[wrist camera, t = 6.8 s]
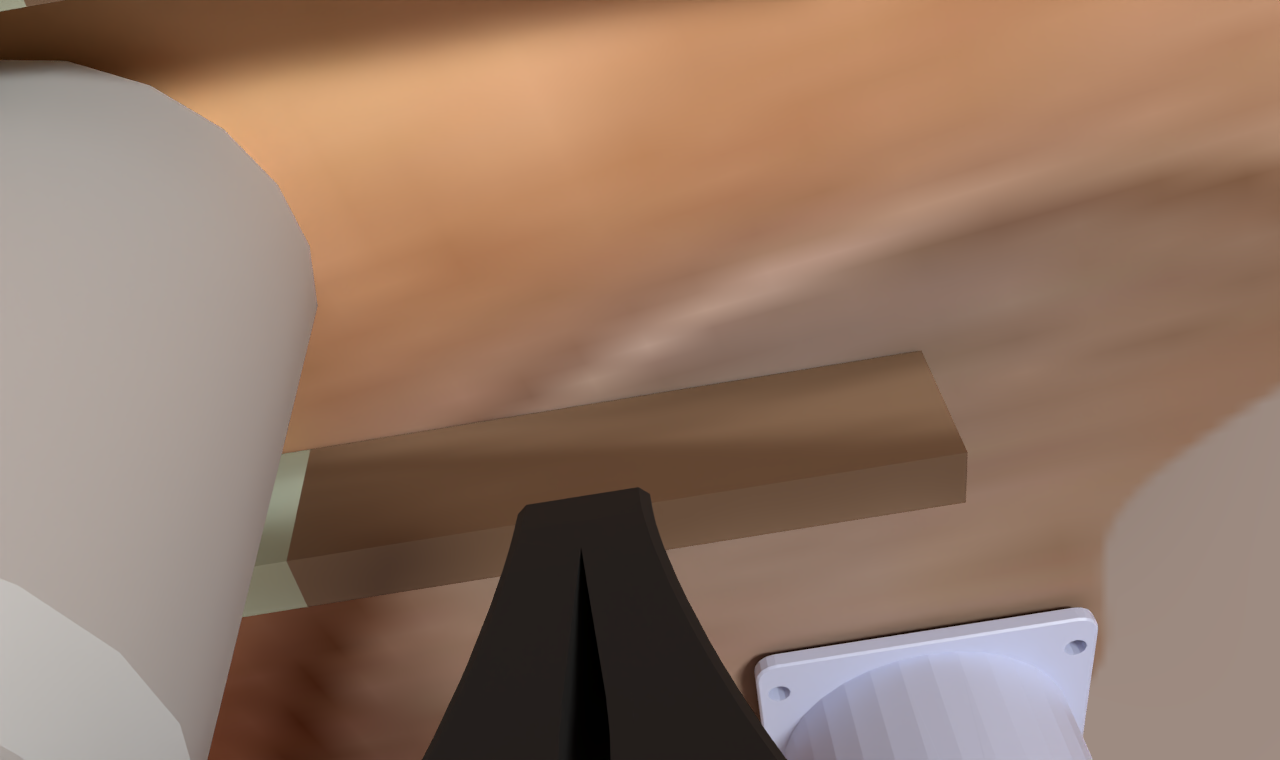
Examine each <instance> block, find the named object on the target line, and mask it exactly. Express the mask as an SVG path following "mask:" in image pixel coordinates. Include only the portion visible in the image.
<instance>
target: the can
mask: <svg viewBox="0 0 1280 760" xmlns="http://www.w3.org/2000/svg"><path fill="white" fill-rule="evenodd" d="M317 306H318V305H317V298H316V290H315V283H314V275H313V268H312V261H311V253H310V246H309V244H308V242H307V240H306V238H305V236H304V234H303V232H302V231H301V229H300V227H299V225H298V223H297V221H296V219H295V217H294V215H293V213H292V211H291V209H290V207H289V205H288V204H287V202H286V200H285V198H284V196H283V194H282V192H281V190H280V188H279V186H278V185H277V184H276V183H275V182H274V180H273V179H272V178H271V177H270V176H269V175H268V174H267V173H266V172H265V171H264V170H263V169H262V168H261V167H260V166H259V165H258V164H257V163H256V162H255V161H254V160H253V159H252V158H251V157H250V156H249V155H248V154H247V153H246V152H245V151H244V150H243V149H242V148H241V147H240V146H239V145H238V144H237V142H236V141H235V140H234V139H233V138H232V137H231V136H230V135H229V134H228V133H227V132H226V131H225V130H224V129H222V128H221V127H219V126H217V125H216V124H214V123H212V122H211V121H209V120H207V119H206V118H204V117H202V116H201V115H199V114H197V113H196V112H194V111H192V110H191V109H189V108H187V107H186V106H184V105H182V104H181V103H179V102H177V101H175V100H174V99H172V98H170V97H169V96H167V95H165V94H164V93H162V92H160V91H159V90H157V89H155V88H154V87H152V86H150V85H147V84H144V83H140V82H137V81H133V80H130V79H126V78H123V77H120V76H116V75H113V74H109V73H106V72H103V71H99V70H96V69H92V68H89V67H86V66H82V65H79V64H75V63H72V62H69V61H46V60H0V760H207V759H208V755H209V751H210V747H211V743H212V738H213V734H214V730H215V726H216V722H217V718H218V714H219V710H220V706H221V701H222V697H223V693H224V689H225V685H226V681H227V677H228V673H229V668H230V664H231V660H232V656H233V652H234V648H235V644H236V640H237V636H238V631H239V627H240V623H241V619H242V615H243V611H244V607H245V603H246V598H247V594H248V590H249V586H250V582H251V578H252V574H253V570H254V565H255V561H256V557H257V553H258V549H259V545H260V541H261V537H262V533H263V528H264V524H265V520H266V516H267V512H268V508H269V504H270V500H271V495H272V491H273V487H274V483H275V479H276V475H277V471H278V467H279V463H280V458H281V454H282V450H283V446H284V442H285V438H286V434H287V430H288V425H289V421H290V417H291V413H292V409H293V405H294V401H295V397H296V392H297V388H298V384H299V380H300V376H301V372H302V368H303V364H304V360H305V355H306V351H307V347H308V343H309V339H310V335H311V331H312V327H313V322H314V318H315V314H316V310H317Z"/></svg>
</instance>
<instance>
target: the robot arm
mask: <svg viewBox="0 0 1280 760" xmlns="http://www.w3.org/2000/svg"><path fill="white" fill-rule="evenodd" d="M1097 633H1098V625H1097V622H1096V620H1095V618H1094V616H1093V614H1092V613H1091V612H1090V611H1089V610H1088V609H1084V608H1080V607H1079V608H1067V609H1061V610H1054V611H1048V612H1042V613H1035V614H1029V615H1022V616H1016V617H1010V618H1003V619H997V620H990V621H984V622H978V623H971V624H965V625H958V626H952V627H946V628H939V629H933V630H926V631H920V632H914V633H907V634H901V635H894V636H888V637H882V638H875V639H869V640H862V641H856V642H850V643H843V644H837V645H830V646H824V647H818V648H811V649H805V650H798V651H792V652H786V653H779V654H773V655H770V656H766V657H765V658H763V659H761V660H760V661H759V662H758V663H757V665H756V666H755V670H754V673H755V681H756V688H757V696H758V704H759V711H760V719H761V723H760V721H759V720H758V718H757V717H756V715H755V714H754V712H753V711H752V709H751V708H750V706H749V705H748V703H747V702H746V700H745V699H744V697H743V696H742V694H741V692H740V691H739V689H738V688H737V686H736V684H735V683H734V681H733V680H732V678H731V676H730V675H729V673H728V672H727V670H726V668H725V667H724V665H723V663H722V662H721V660H720V658H719V657H718V655H717V653H716V651H715V650H714V648H713V646H712V645H711V643H710V641H709V639H708V637H707V635H706V634H705V632H704V630H703V628H702V626H701V624H700V622H699V620H698V619H697V617H696V615H695V613H694V611H693V609H692V607H691V605H690V603H689V602H688V600H687V598H686V596H685V594H684V591H683V589H682V587H681V585H680V583H679V581H678V579H677V577H676V574H675V572H674V570H673V567H672V565H671V563H670V560H669V558H668V555H667V553H666V551H665V548H664V545H663V543H662V540H661V537H660V534H659V531H658V528H657V525H656V521H655V517H654V513H653V507H652V502H651V497H650V494H649V493H648V492H646V491H644V490H643V489H641V488H639V487H636V488H629V489H623V490H617V491H610V492H604V493H598V494H591V495H585V496H579V497H572V498H566V499H560V500H554V501H547V502H541V503H535V504H528V505H526V506H525V507H524V508H523V509H522V510H521V511H520V512H519V513H518V515H517V520H516V524H515V529H514V533H513V537H512V540H511V544H510V548H509V551H508V555H507V558H506V561H505V564H504V568H503V571H502V574H501V577H500V580H499V583H498V586H497V588H496V591H495V594H494V597H493V600H492V603H491V606H490V608H489V611H488V614H487V616H486V619H485V621H484V624H483V626H482V629H481V631H480V634H479V636H478V639H477V641H476V644H475V646H474V649H473V651H472V654H471V657H470V659H469V662H468V664H467V666H466V669H465V671H464V673H463V676H462V678H461V680H460V682H459V684H458V687H457V689H456V691H455V693H454V695H453V697H452V699H451V701H450V704H449V706H448V708H447V710H446V712H445V714H444V716H443V719H442V721H441V723H440V725H439V727H438V729H437V731H436V733H435V736H434V738H433V740H432V742H431V744H430V746H429V748H428V750H427V751H426V753H425V755H424V757H423V759H422V760H1093V759H1092V757H1091V754H1090V752H1089V750H1088V748H1087V745H1086V743H1085V741H1084V739H1083V730H1084V724H1085V717H1086V710H1087V703H1088V696H1089V689H1090V682H1091V675H1092V668H1093V661H1094V654H1095V647H1096V640H1097ZM778 686H779V687H778Z"/></svg>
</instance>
